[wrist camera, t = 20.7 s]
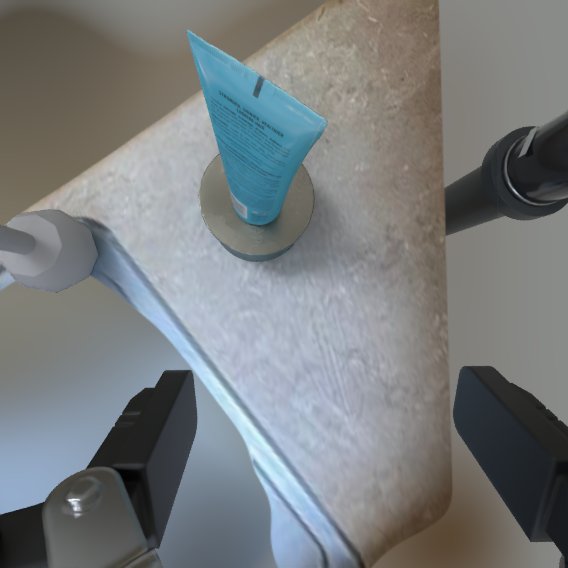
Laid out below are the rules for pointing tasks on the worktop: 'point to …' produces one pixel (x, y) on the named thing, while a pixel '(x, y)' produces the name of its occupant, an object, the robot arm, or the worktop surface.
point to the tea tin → (248, 237)
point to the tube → (254, 131)
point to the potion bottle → (47, 250)
